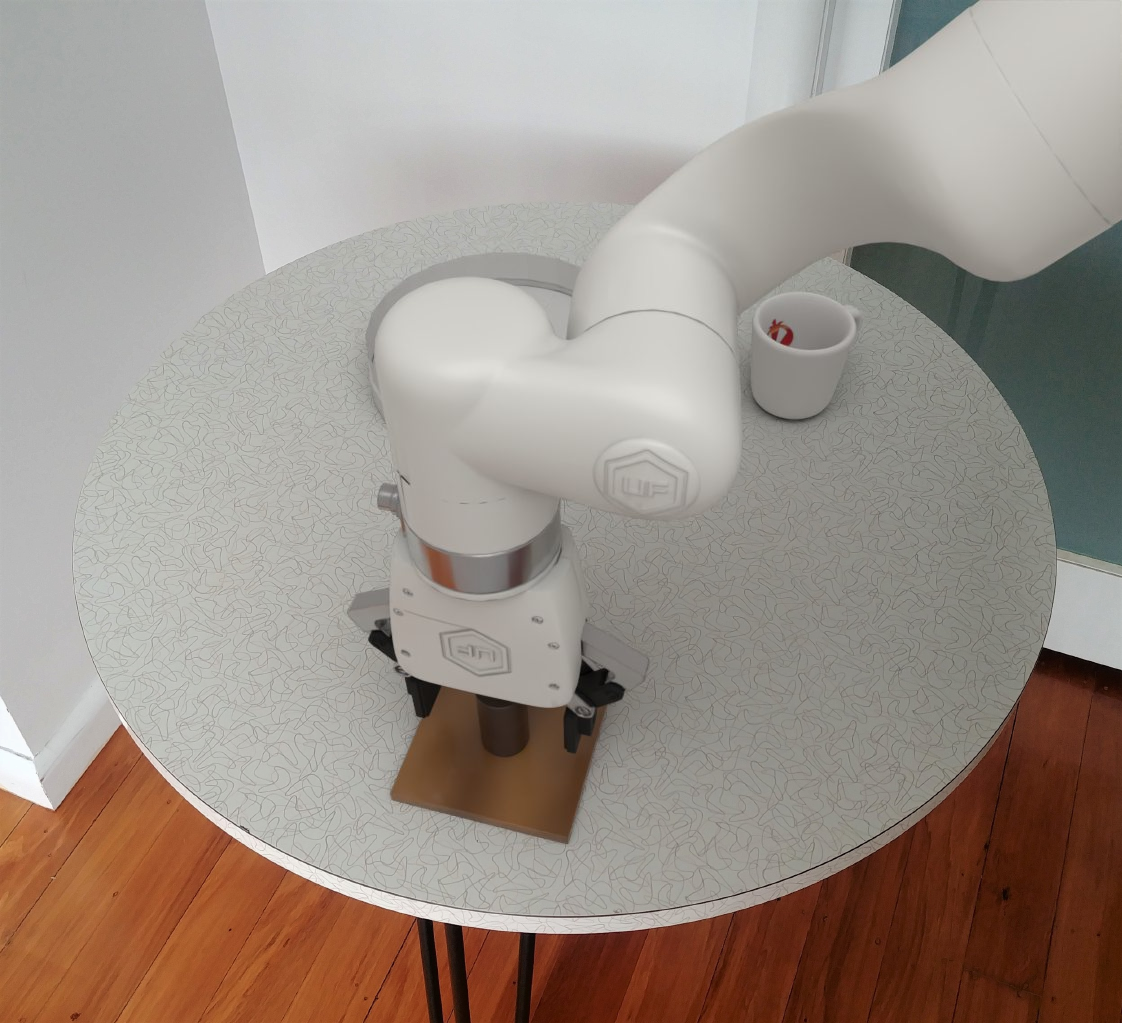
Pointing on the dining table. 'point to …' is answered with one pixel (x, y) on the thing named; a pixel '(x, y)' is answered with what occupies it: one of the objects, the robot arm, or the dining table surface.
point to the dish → (526, 271)
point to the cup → (800, 351)
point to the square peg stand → (497, 764)
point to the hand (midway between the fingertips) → (502, 714)
